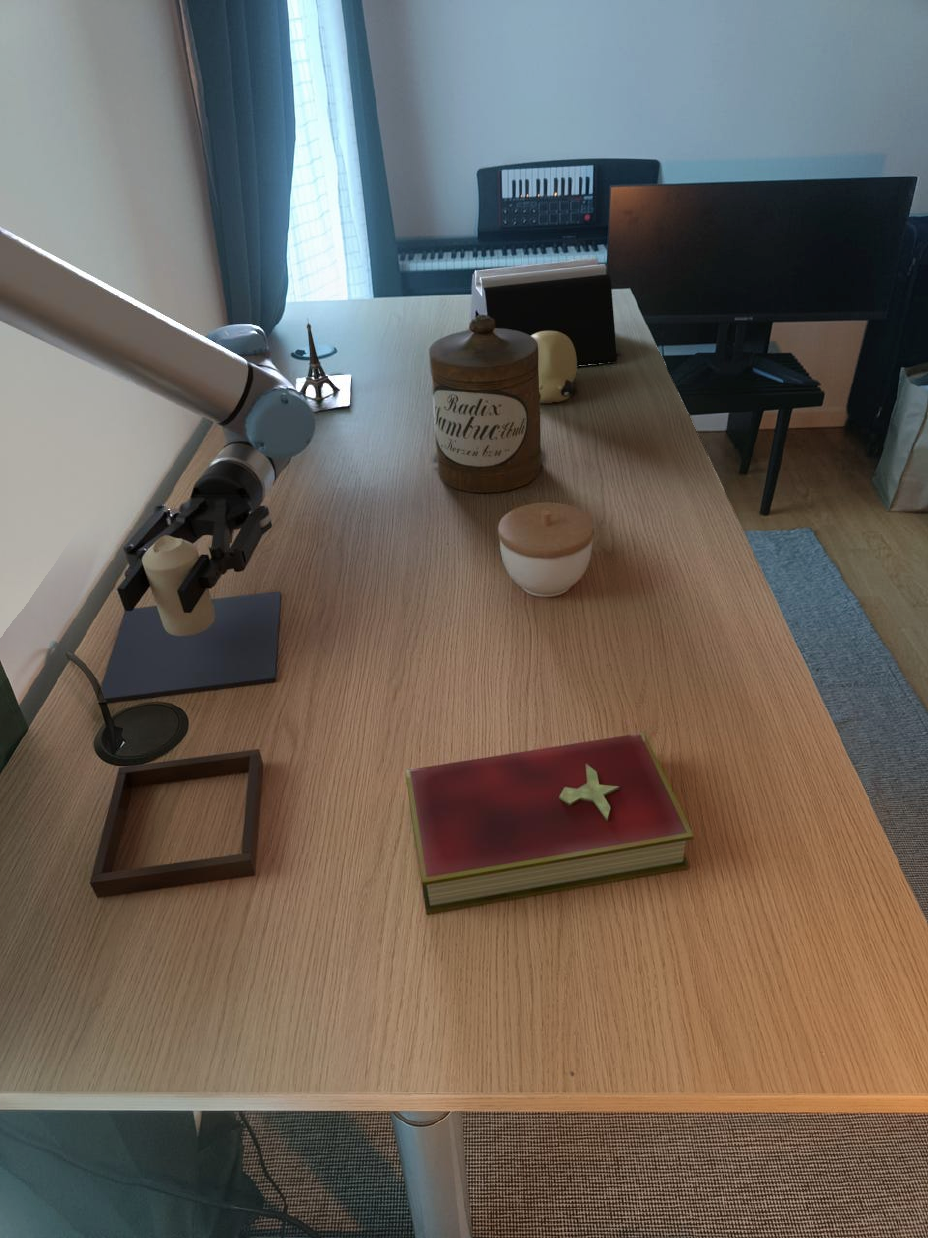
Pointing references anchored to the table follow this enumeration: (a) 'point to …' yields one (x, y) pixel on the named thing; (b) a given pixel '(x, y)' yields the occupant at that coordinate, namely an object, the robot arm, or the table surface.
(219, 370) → the robot arm
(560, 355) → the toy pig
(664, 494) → the table surface
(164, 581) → the candle
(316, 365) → the eiffel tower figurine
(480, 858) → the hardcover book
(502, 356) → the wooden container
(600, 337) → the device stand
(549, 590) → the trinket box
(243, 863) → the square wooden frame
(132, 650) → the felt mat
